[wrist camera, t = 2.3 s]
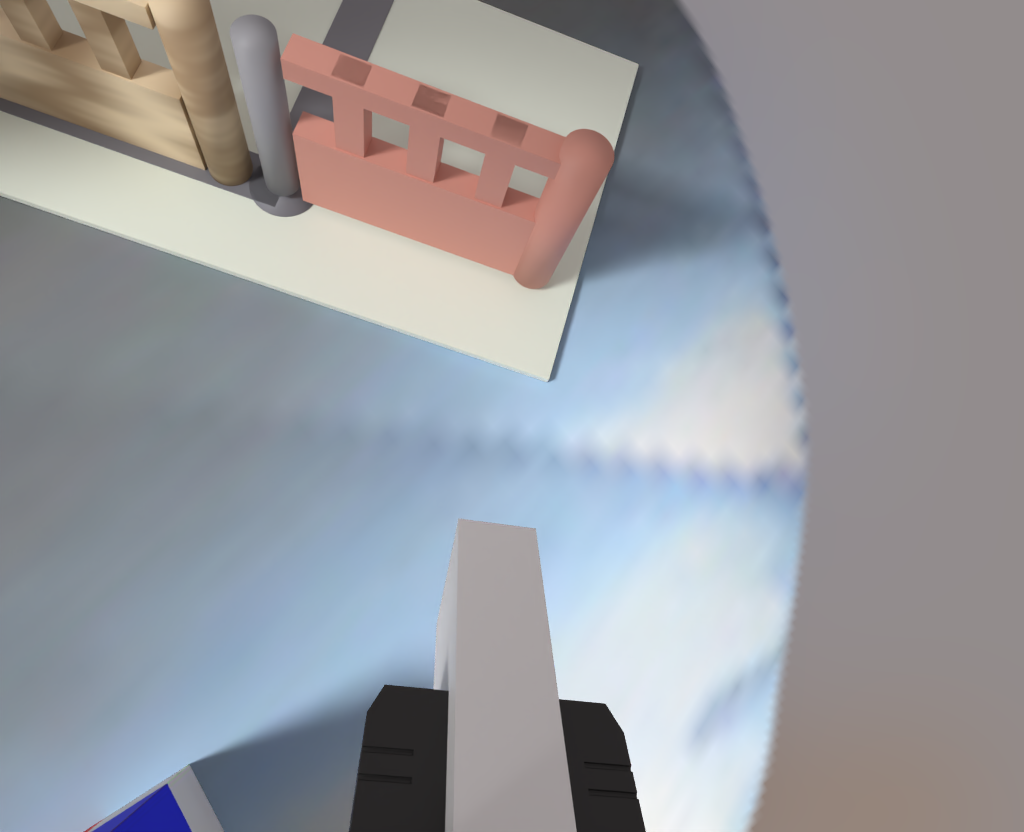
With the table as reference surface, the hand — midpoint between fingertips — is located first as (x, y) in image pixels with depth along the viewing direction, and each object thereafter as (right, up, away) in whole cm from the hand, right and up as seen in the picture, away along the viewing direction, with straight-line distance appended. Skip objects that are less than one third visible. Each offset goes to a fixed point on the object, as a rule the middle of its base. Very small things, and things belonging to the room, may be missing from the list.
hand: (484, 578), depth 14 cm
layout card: (-10, +19, +22) cm, 31 cm away
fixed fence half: (-19, +17, +19) cm, 32 cm away
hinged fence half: (-4, +12, +21) cm, 24 cm away
